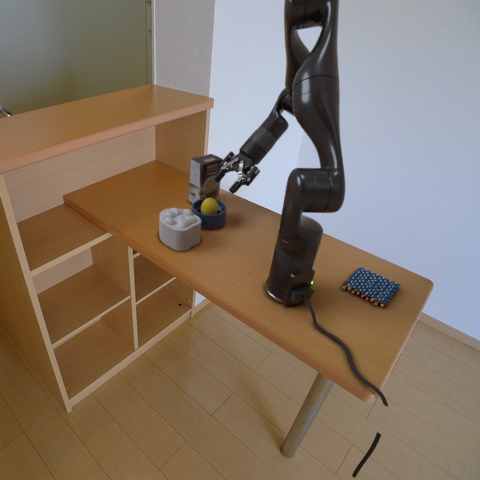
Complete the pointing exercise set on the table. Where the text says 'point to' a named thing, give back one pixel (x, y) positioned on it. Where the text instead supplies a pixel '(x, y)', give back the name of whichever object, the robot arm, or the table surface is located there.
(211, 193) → the coffee box
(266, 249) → the table surface
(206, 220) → the bowl
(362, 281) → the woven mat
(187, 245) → the paw print block
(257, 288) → the table surface
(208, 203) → the lemon
